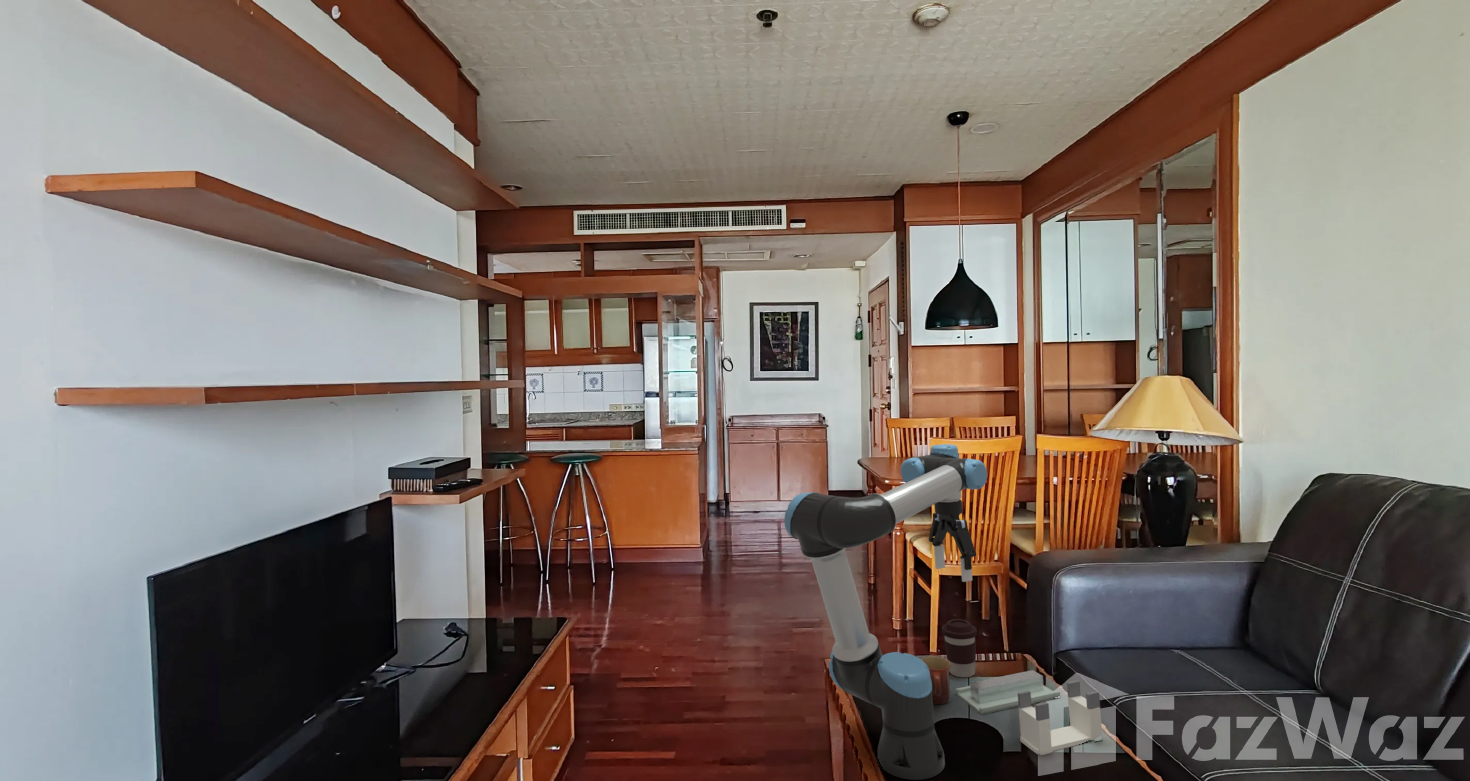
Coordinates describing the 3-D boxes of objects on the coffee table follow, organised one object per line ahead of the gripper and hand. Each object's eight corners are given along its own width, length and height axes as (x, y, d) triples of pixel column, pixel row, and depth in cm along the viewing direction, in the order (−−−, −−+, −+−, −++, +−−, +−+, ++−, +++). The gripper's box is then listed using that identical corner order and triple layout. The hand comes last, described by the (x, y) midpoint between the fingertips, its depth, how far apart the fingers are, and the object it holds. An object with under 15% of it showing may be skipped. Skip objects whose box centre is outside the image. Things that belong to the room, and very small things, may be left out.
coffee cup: (956, 662, 203) (953, 614, 203) (986, 671, 195) (982, 621, 195) (938, 673, 196) (934, 623, 196) (968, 683, 189) (964, 631, 189)
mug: (919, 691, 186) (916, 655, 186) (951, 692, 184) (948, 655, 184) (922, 712, 174) (919, 674, 174) (957, 713, 173) (954, 675, 172)
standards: (1039, 755, 152) (1035, 706, 151) (1019, 740, 158) (1015, 692, 158) (1104, 739, 156) (1100, 691, 156) (1082, 725, 163) (1078, 679, 162)
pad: (981, 714, 171) (981, 708, 171) (956, 694, 183) (955, 688, 183) (1060, 697, 177) (1059, 691, 177) (1030, 678, 189) (1030, 673, 189)
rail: (979, 703, 176) (978, 688, 176) (970, 697, 179) (969, 682, 179) (1043, 690, 180) (1042, 675, 180) (1033, 683, 184) (1032, 669, 184)
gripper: (986, 504, 174) (992, 584, 174) (936, 491, 198) (941, 561, 198) (961, 508, 172) (967, 588, 172) (913, 494, 196) (918, 564, 197)
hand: (953, 574), depth 185 cm, fingers open, 13 cm apart
